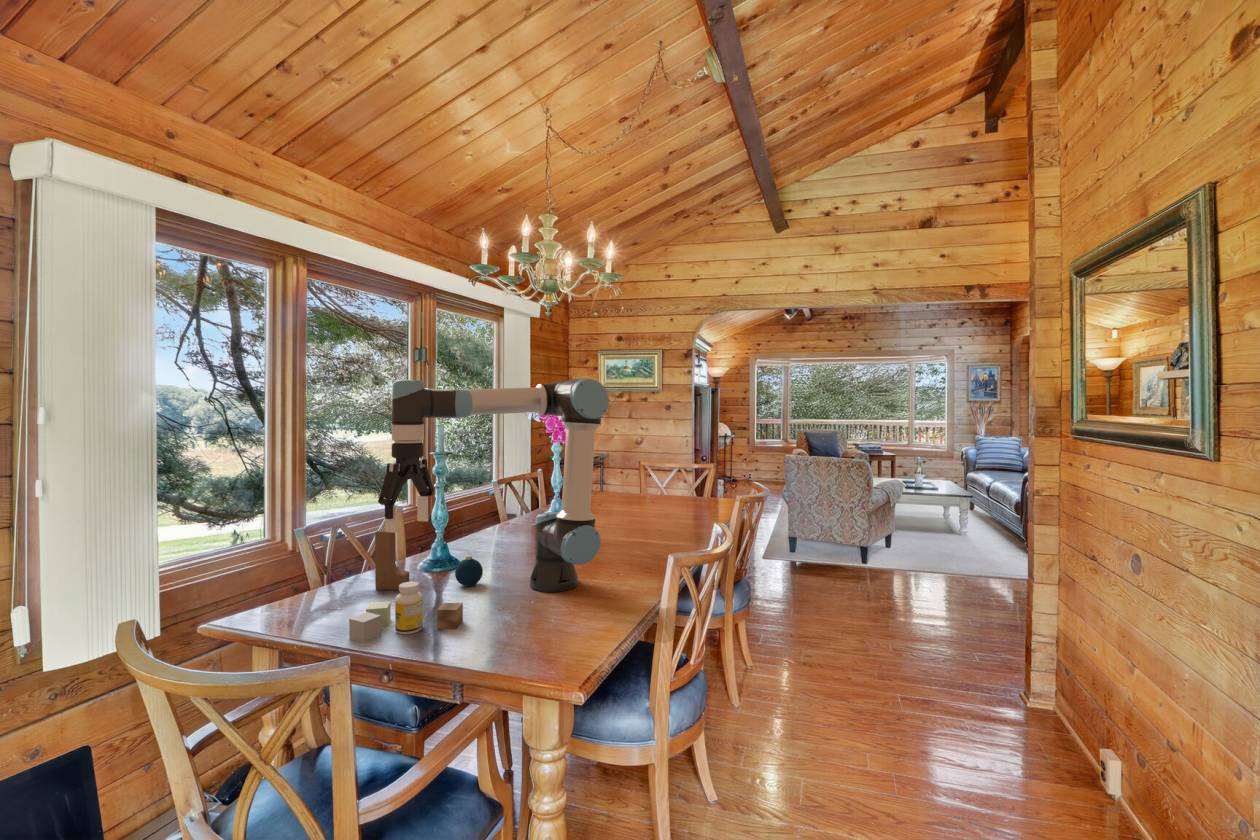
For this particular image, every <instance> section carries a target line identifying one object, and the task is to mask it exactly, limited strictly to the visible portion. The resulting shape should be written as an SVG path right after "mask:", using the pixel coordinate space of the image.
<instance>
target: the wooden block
mask: <svg viewBox="0 0 1260 840" xmlns="http://www.w3.org/2000/svg"><path fill="white" fill-rule="evenodd" d="M395 539H396V538H395V533H394V532H385V528H380V529H378V530H376V531H375V532H374V546H375V547H374V550H375V551H374V555H375V556H374V557H375V559H374V561H375V562H374V564H375V565H374V569H375V574H374V575H375V576H374V577H375V590H376V591H387V590H388V591H389V590H391V591H393V590H394V591H397V590H398V591H399V585H400V584H402V583H405V582H410V571H407V570H402V569H400V568H399V567H398V566H397V563H396V560H395V559H396V558H395V557H396V555H395V553H396V552H395V551H396V549H395V545H396V544H395V543H396V542H395V541H396V540H395Z"/></svg>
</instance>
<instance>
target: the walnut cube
mask: <svg viewBox="0 0 1260 840" xmlns="http://www.w3.org/2000/svg"><path fill="white" fill-rule="evenodd" d="M463 622H464V605H463V602H443V603H442V604H441V605H440V606H439V607H438V608H437V609H436V630H457V629H458V628H459V627H460V625H462V624H463Z"/></svg>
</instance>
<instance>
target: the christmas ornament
mask: <svg viewBox="0 0 1260 840" xmlns="http://www.w3.org/2000/svg"><path fill="white" fill-rule="evenodd" d="M483 574H484V570H483V566H482V564H481V562H479V561H478V560H477V559H475V558H473V555H471V554H469V553H468V554H467V555H466V556H465V559H463V560H461V561H460V562H459V563H458V564H457V565H456V568H455V571H454V576H455V579H456V581H457V582H458V583H459V584H460V585H462V586H464V587H472V586H475V585H477V584H478V583H479V582H480V581H481V579H482V577H483Z"/></svg>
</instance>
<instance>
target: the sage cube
mask: <svg viewBox="0 0 1260 840" xmlns="http://www.w3.org/2000/svg"><path fill="white" fill-rule="evenodd" d="M366 612H369V613H373V614H377V615H381V628H388V626H389V624H390V621H391V620H392V618H391V617H392V615H391V601H389V600H388V601H377V602H376V601H375V602H369V604H368V606H367V607H366V608H365V613H366Z"/></svg>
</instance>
